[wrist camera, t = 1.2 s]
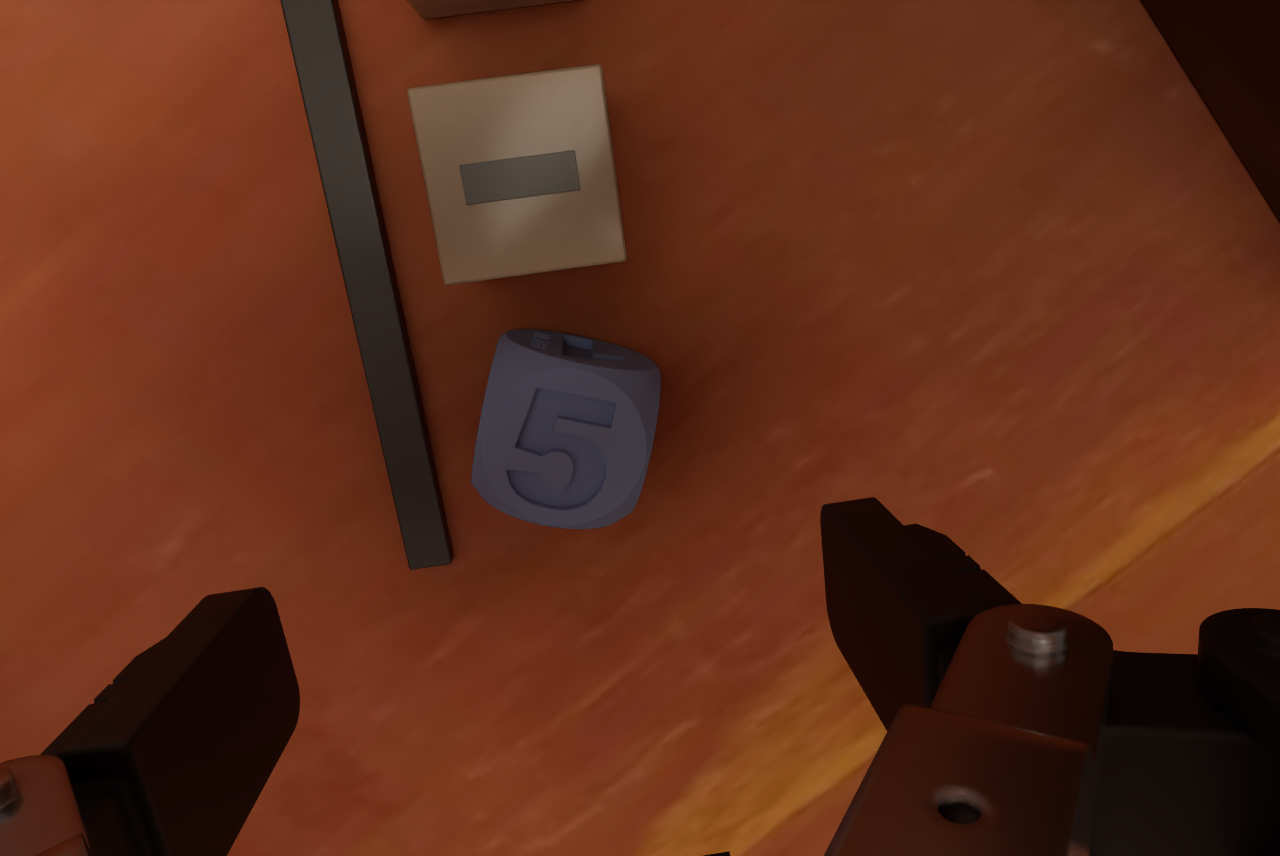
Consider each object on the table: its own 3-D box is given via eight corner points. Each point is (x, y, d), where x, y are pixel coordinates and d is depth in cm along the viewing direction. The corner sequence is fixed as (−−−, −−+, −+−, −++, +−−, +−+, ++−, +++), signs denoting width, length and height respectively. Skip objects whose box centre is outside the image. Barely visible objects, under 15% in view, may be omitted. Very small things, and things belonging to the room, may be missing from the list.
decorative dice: (653, 350, 22) (668, 382, 19) (622, 485, 23) (630, 542, 20) (508, 320, 22) (492, 346, 18) (482, 459, 23) (463, 513, 19)
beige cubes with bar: (250, -155, 19) (161, -249, 15) (561, -193, 19) (556, -294, 15) (412, 563, 24) (378, 636, 20) (656, 527, 24) (670, 593, 20)
